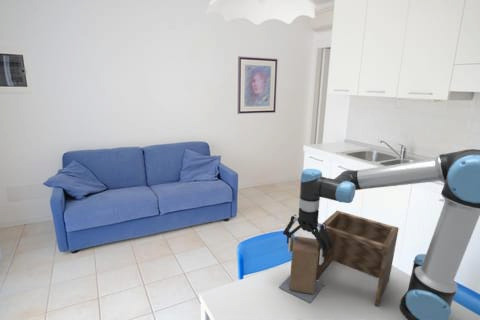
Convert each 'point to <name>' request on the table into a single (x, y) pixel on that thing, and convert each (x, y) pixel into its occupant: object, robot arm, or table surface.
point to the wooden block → (304, 264)
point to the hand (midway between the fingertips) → (305, 256)
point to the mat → (301, 295)
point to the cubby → (360, 247)
